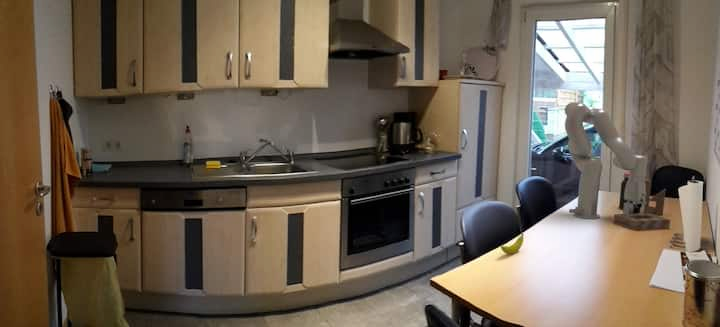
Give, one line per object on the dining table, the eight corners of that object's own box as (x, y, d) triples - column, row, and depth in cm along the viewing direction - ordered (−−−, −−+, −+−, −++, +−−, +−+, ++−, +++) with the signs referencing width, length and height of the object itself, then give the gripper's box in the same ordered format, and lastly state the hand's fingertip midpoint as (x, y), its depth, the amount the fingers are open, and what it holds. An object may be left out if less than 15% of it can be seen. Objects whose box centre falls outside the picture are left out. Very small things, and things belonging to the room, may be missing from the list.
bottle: (634, 210, 294) (637, 174, 291) (620, 209, 296) (624, 174, 293) (630, 208, 301) (633, 173, 298) (617, 207, 302) (620, 172, 299)
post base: (634, 230, 251) (635, 221, 250) (613, 223, 264) (614, 214, 264) (669, 228, 256) (670, 219, 255) (646, 221, 269) (647, 212, 269)
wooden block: (662, 215, 284) (665, 182, 281) (639, 212, 290) (642, 180, 287) (663, 214, 287) (666, 181, 284) (640, 211, 293) (643, 179, 290)
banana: (496, 258, 204) (497, 242, 203) (518, 248, 218) (519, 233, 217) (503, 260, 202) (504, 243, 201) (525, 249, 216) (526, 234, 215)
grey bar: (628, 219, 273) (629, 204, 271) (622, 217, 276) (624, 202, 275) (642, 218, 275) (644, 203, 274) (636, 217, 279) (638, 202, 278)
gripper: (618, 176, 280) (615, 210, 282) (643, 182, 264) (639, 218, 266) (630, 176, 282) (627, 210, 284) (655, 182, 266) (651, 217, 268)
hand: (633, 213), depth 275 cm, fingers closed on grey bar, 4 cm apart
